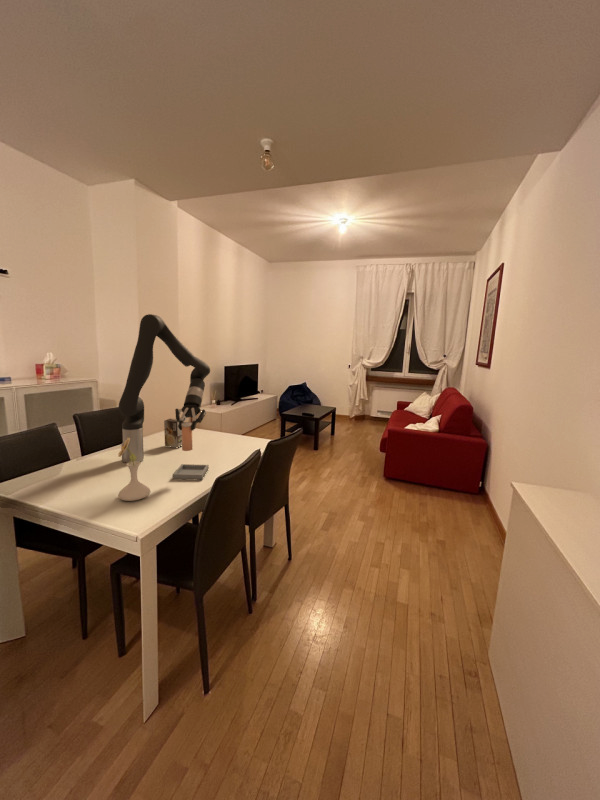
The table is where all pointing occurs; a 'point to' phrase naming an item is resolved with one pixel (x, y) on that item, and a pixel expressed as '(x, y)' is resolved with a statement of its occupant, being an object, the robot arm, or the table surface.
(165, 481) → the table surface
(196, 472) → the tray
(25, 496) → the table surface
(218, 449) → the table surface
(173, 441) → the coffee box
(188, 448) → the shaker
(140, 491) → the flower in vase
